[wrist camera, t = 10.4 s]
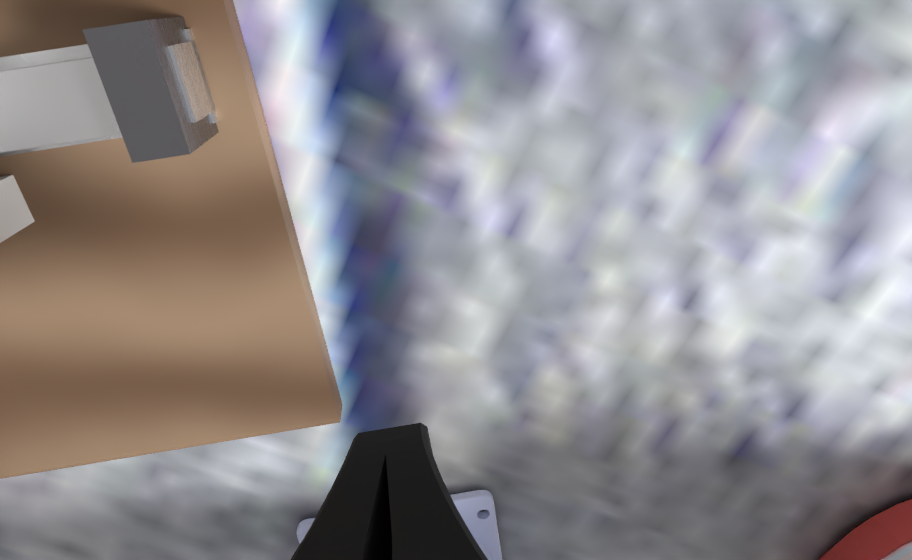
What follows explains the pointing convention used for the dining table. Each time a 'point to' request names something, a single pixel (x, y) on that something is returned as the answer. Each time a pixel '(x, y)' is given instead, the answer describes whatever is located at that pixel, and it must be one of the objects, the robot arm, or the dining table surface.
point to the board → (153, 274)
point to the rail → (110, 93)
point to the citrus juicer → (878, 537)
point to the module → (12, 208)
